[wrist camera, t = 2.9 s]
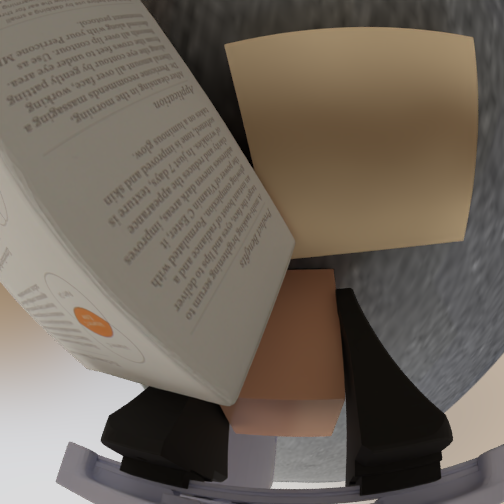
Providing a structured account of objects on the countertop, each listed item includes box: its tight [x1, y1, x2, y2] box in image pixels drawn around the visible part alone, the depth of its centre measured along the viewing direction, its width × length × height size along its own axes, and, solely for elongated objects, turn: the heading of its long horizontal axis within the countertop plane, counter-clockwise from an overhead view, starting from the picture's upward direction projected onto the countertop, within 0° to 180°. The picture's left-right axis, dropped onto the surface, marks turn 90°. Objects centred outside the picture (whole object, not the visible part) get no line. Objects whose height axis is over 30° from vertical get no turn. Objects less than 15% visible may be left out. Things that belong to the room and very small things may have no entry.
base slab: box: [224, 27, 478, 259], centre depth 8 cm, size 7×7×2 cm
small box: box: [0, 0, 295, 406], centre depth 7 cm, size 8×6×10 cm
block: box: [219, 269, 345, 437], centre depth 12 cm, size 4×4×6 cm
